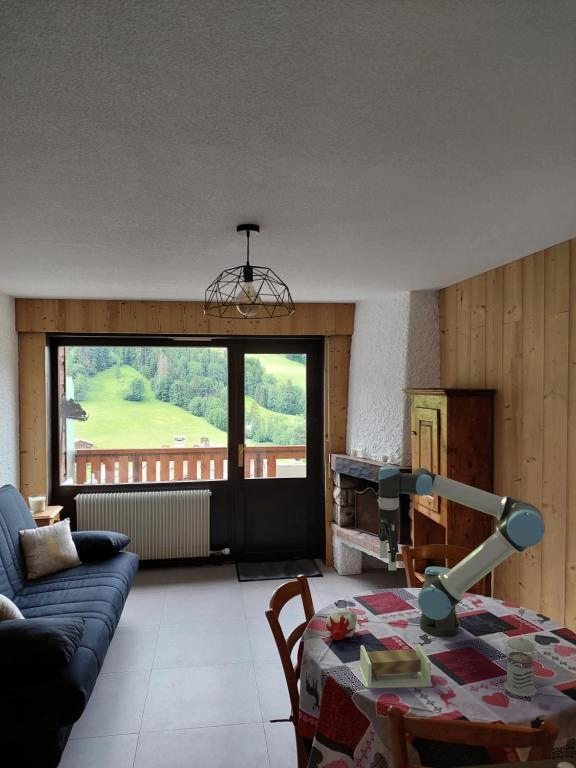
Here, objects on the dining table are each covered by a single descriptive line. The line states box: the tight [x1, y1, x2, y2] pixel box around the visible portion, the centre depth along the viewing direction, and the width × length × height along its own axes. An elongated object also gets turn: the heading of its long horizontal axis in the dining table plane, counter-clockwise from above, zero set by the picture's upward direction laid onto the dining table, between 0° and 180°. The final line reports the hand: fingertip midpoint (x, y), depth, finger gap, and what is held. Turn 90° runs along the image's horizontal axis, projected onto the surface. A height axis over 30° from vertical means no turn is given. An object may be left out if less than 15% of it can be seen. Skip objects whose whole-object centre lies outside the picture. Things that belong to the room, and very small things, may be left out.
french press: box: [503, 608, 543, 697], centre depth 174 cm, size 10×12×25 cm
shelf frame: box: [358, 643, 433, 689], centre depth 179 cm, size 21×12×8 cm, turn 94°
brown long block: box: [366, 648, 421, 676], centre depth 179 cm, size 16×7×4 cm, turn 99°
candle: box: [325, 610, 358, 641], centre depth 206 cm, size 9×11×15 cm
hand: (387, 563), depth 209 cm, fingers open, 13 cm apart
